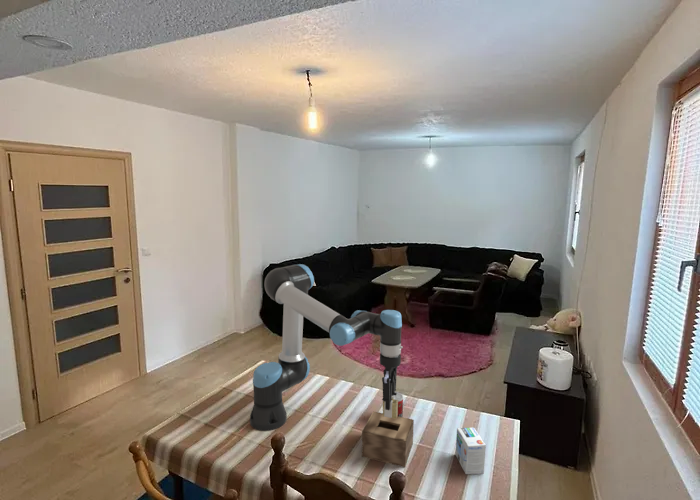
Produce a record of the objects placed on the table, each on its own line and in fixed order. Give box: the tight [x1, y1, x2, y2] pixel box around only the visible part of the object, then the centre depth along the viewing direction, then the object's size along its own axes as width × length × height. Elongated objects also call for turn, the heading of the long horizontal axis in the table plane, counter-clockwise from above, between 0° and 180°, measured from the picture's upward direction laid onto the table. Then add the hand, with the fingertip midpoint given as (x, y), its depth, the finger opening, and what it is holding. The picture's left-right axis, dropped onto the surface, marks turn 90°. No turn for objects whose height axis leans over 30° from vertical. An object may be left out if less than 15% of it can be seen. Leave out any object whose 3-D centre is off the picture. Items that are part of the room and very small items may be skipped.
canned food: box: [393, 391, 404, 418], centre depth 165 cm, size 8×8×11 cm
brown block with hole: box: [361, 411, 415, 468], centre depth 145 cm, size 16×14×10 cm
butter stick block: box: [382, 399, 398, 419], centre depth 144 cm, size 5×2×6 cm, turn 70°
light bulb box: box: [455, 427, 487, 475], centre depth 138 cm, size 11×7×11 cm, turn 5°
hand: (389, 414), depth 144 cm, fingers closed on butter stick block, 2 cm apart
